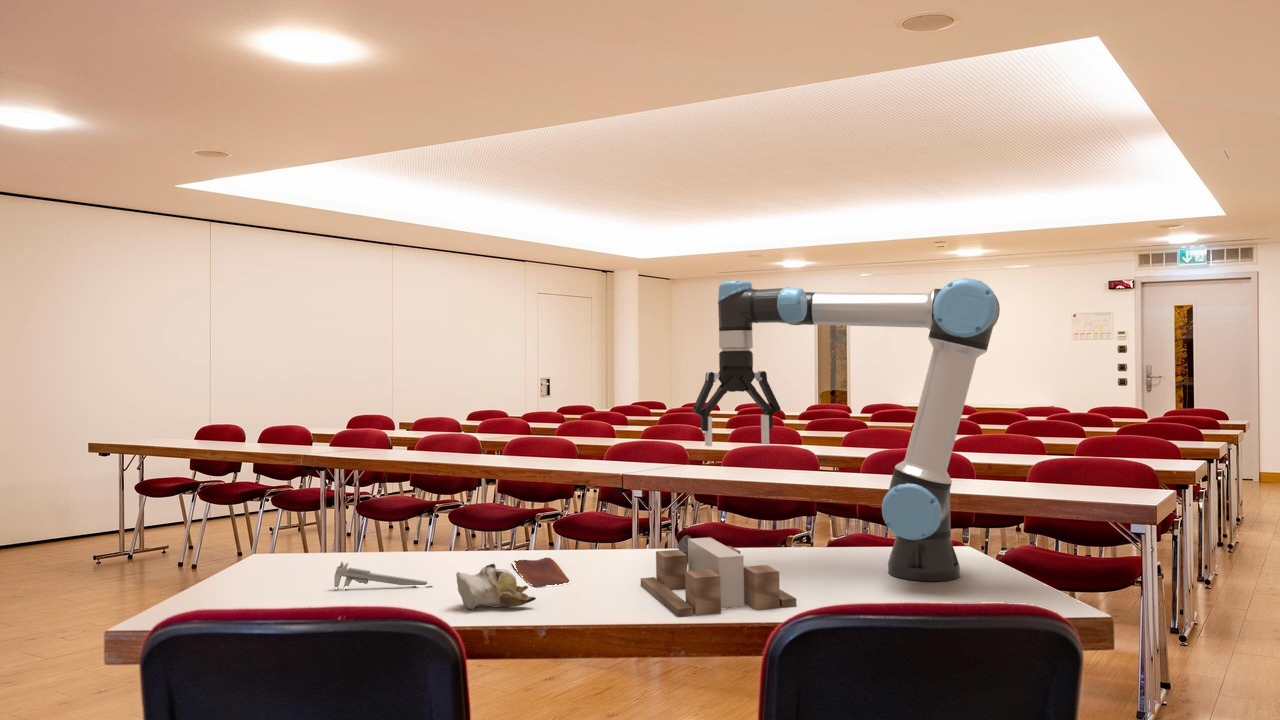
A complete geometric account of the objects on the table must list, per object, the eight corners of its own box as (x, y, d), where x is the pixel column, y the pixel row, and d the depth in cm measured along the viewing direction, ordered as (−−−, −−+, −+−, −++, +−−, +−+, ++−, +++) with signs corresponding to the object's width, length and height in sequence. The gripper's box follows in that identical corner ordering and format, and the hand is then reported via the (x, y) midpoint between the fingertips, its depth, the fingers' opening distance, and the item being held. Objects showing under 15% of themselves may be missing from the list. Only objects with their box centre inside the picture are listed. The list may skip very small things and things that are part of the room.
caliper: (334, 592, 196) (334, 562, 196) (335, 590, 197) (335, 561, 197) (432, 588, 198) (432, 559, 198) (433, 587, 199) (432, 558, 199)
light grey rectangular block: (710, 584, 198) (710, 537, 198) (744, 607, 178) (743, 555, 178) (688, 585, 196) (687, 538, 196) (719, 609, 177) (718, 557, 177)
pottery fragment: (731, 565, 217) (731, 546, 217) (681, 565, 216) (681, 547, 216) (722, 552, 232) (722, 534, 232) (675, 552, 231) (675, 535, 231)
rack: (745, 576, 203) (745, 545, 203) (796, 606, 178) (795, 569, 178) (640, 585, 197) (640, 552, 197) (677, 616, 172) (677, 579, 172)
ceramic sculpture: (454, 558, 184) (528, 557, 189) (452, 602, 184) (526, 600, 189) (459, 570, 174) (537, 569, 178) (457, 616, 174) (535, 614, 178)
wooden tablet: (509, 565, 221) (509, 558, 221) (550, 562, 224) (550, 555, 224) (527, 591, 195) (527, 583, 195) (574, 587, 198) (574, 579, 198)
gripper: (780, 349, 214) (781, 441, 214) (677, 351, 207) (679, 445, 207) (794, 349, 207) (795, 444, 207) (688, 350, 200) (689, 448, 200)
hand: (737, 445), depth 207 cm, fingers open, 13 cm apart
